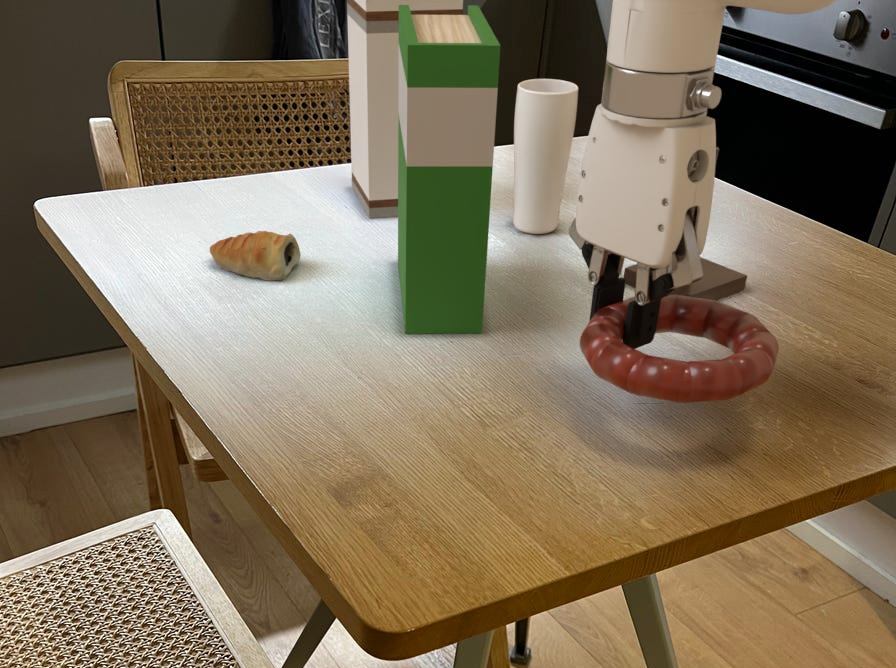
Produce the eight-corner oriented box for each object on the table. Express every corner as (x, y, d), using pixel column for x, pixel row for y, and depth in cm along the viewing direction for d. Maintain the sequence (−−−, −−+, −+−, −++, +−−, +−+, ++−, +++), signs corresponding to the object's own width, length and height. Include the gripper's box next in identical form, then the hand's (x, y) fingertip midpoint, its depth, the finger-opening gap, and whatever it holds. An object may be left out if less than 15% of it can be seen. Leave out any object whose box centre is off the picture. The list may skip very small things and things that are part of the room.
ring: (810, 370, 76) (821, 334, 74) (684, 430, 70) (692, 392, 68) (666, 309, 85) (672, 275, 83) (541, 356, 79) (544, 321, 77)
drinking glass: (554, 216, 118) (569, 77, 108) (570, 236, 113) (587, 92, 103) (500, 219, 117) (510, 79, 107) (514, 239, 112) (525, 94, 102)
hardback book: (397, 264, 106) (398, 4, 90) (465, 263, 106) (478, 5, 90) (405, 333, 93) (407, 44, 77) (482, 333, 93) (500, 45, 77)
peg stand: (744, 289, 102) (778, 151, 93) (687, 310, 98) (717, 167, 89) (678, 263, 107) (704, 129, 98) (622, 281, 103) (644, 144, 94)
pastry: (201, 273, 103) (196, 236, 101) (227, 251, 108) (223, 216, 105) (283, 283, 101) (280, 246, 99) (306, 261, 106) (304, 225, 104)
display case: (454, 212, 118) (469, -157, 95) (369, 218, 116) (363, -158, 93) (432, 183, 127) (440, -164, 103) (352, 188, 125) (342, -164, 101)
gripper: (785, 106, 66) (727, 360, 78) (609, 63, 75) (582, 295, 88) (712, 125, 62) (664, 387, 74) (538, 77, 72) (521, 316, 84)
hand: (620, 335), depth 81 cm, fingers closed on ring, 3 cm apart
